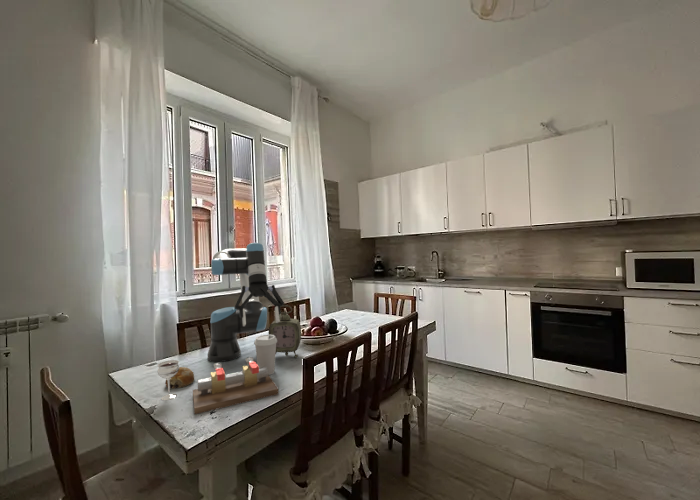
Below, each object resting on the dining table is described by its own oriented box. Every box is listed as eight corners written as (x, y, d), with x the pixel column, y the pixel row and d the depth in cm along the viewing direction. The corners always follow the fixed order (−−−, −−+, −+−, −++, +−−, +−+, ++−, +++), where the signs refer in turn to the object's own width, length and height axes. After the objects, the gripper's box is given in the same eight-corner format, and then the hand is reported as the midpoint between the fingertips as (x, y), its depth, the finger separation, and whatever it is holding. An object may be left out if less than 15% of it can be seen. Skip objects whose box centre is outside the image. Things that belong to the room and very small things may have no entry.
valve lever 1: (213, 368, 113) (213, 363, 113) (221, 367, 114) (221, 361, 114) (217, 381, 102) (216, 375, 102) (225, 379, 103) (225, 373, 103)
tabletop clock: (268, 360, 147) (267, 307, 147) (273, 353, 156) (272, 303, 156) (299, 359, 147) (298, 306, 147) (302, 353, 156) (301, 303, 156)
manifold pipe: (197, 391, 111) (197, 370, 111) (265, 377, 123) (265, 358, 122) (198, 397, 107) (197, 375, 107) (268, 381, 119) (268, 361, 119)
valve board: (192, 395, 113) (192, 389, 113) (268, 379, 126) (268, 374, 126) (194, 414, 100) (194, 408, 100) (278, 394, 112) (278, 388, 112)
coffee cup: (271, 378, 127) (271, 341, 127) (250, 376, 129) (249, 340, 128) (281, 368, 136) (280, 334, 136) (261, 367, 138) (260, 333, 138)
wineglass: (154, 398, 111) (153, 364, 111) (173, 391, 117) (173, 358, 117) (164, 403, 107) (163, 368, 107) (183, 395, 113) (182, 362, 113)
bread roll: (195, 392, 124) (203, 370, 126) (172, 390, 116) (180, 367, 118) (181, 387, 129) (188, 366, 131) (157, 385, 121) (166, 363, 123)
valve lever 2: (245, 362, 118) (245, 357, 118) (252, 361, 119) (252, 356, 119) (251, 374, 107) (251, 368, 107) (259, 372, 108) (259, 366, 108)
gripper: (228, 273, 129) (230, 324, 120) (287, 272, 141) (293, 318, 132) (225, 280, 135) (228, 329, 126) (282, 278, 147) (288, 323, 138)
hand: (261, 323), depth 129 cm, fingers open, 13 cm apart
